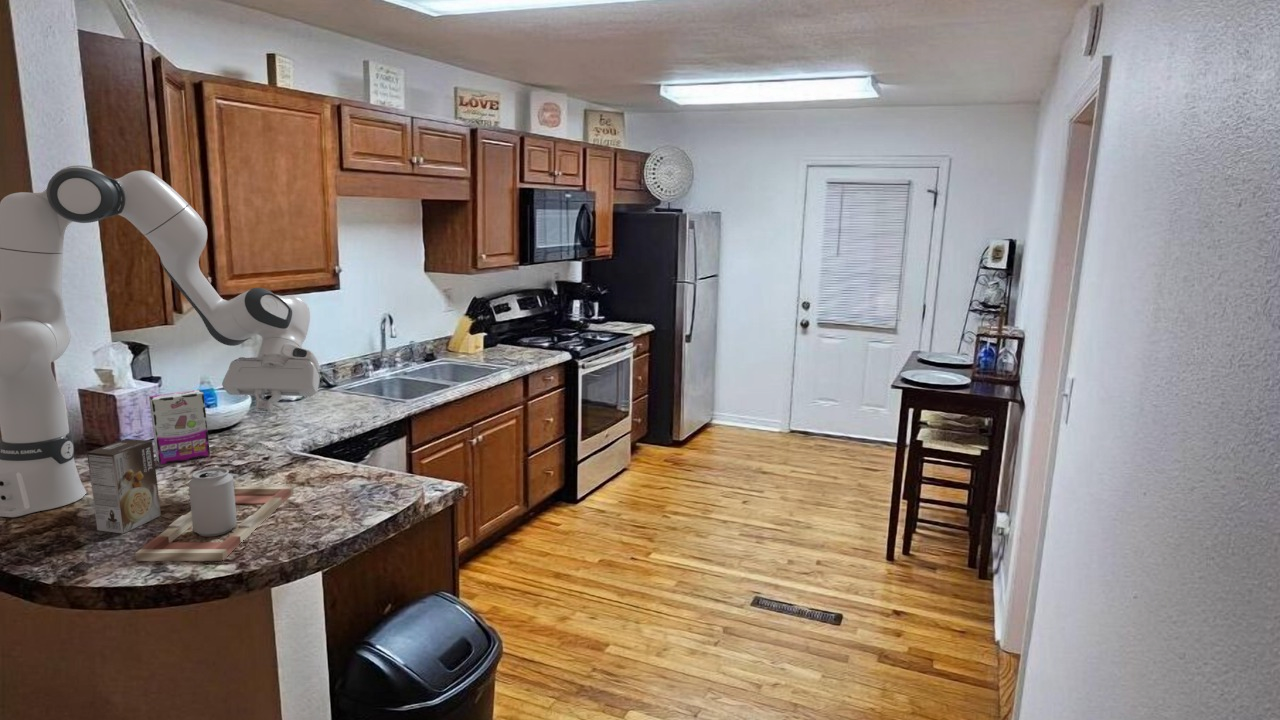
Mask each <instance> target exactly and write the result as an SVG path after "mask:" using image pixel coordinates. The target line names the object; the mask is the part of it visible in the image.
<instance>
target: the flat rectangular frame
mask: <svg viewBox="0 0 1280 720" xmlns="http://www.w3.org/2000/svg"><path fill="white" fill-rule="evenodd" d="M294 494H295V492H294V486H235V485H234V495H235V505H262V506H261V507H260V508H259V509H257V511H255V512H254V513H253V514H252V515H249V516H248V517H246V518H245V519H244V520H243V521H242V522H241V523H240V524H238V527H237V529H235V531H233V532H232V533H231V534H230V535H229V536H228V537H227V538H226V539H225V540H223V541H222V542H220V541H217V542H216V541H214V542H211V541H210V542H209V541H207V542H206V541H205V542H204V541H203V542H202V541H201V542H198V541H197V542H192V541H191V542H189V541H185V542H181V541H180V542H173V541H175V540H176V539H177V538H178V537H180V536H181V535H182V534H184V533H185V532H186V531H187V530H188V529H190V528H191V527H193V524H192V514H191V510H190V511H189V512H187V513H185V514H182V515H181V516H179V517H178V518H177V519H175V520H174V521H173V522H172V523H170V524H169V525H168V528H166V529H165V530H164V531H162V532H161V533H160V534H159V535H157V536H156V537H154V538H153V539H152V540H150V541H148V543H147V544H146V545H144V546H143V547H141V548H139V550H137V551H136V552H135V553H134V554H135V555H134V556H135V561H136V562H175V561H176V562H185V561H187V562H195V561H197V562H198V561H199V562H201V561H206V562H207V561H208V562H211V561H213V562H218V561H221V562H222V560H223V561H224V560H226V559H227V558H228V557H229V556H228V555H229V554H230V553H231V552H232V551H233V550H234V549H235V548H236V547H237V548H238V547H239V546H240V545H241V544H242V543H243V542H244V541H246V539H248V538H249V537H250V536H251V533H252V532H253V531H254V530H255V529H256V528H257V527H258V526H259V525H260V524H261V523H262V522H263V521H264V520H265V519H266V518H267V517H268V518H269V517H270V516H271V515H273V514H274V513H275V512H276V509H277V508H278V507H279V506H280V505H281V504H282V503H283V504H284V503H285V502H286V501H287V500H288V499H289V498H290V497H292V495H294ZM283 504H282V505H283ZM282 505H281V506H282ZM281 506H280V507H281ZM280 507H279V508H280ZM279 508H278V509H279ZM278 509H277V510H278ZM270 514H271V515H270ZM269 515H270V516H269ZM268 518H267V519H268ZM267 519H266V520H267ZM266 520H265V521H266ZM265 521H264V522H265ZM264 522H263V523H264ZM263 523H262V524H263ZM262 524H261V525H262ZM261 525H260V526H261ZM260 526H259V527H260ZM259 527H258V528H259ZM258 528H257V529H258ZM257 529H256V530H257ZM256 530H255V531H256ZM255 531H254V532H255ZM254 532H253V533H254ZM253 533H252V534H253ZM243 540H244V541H243ZM241 542H242V543H241ZM240 543H241V544H240ZM239 544H240V545H239ZM237 548H236V549H237ZM236 549H235V550H236ZM235 550H234V551H235ZM234 551H233V552H234ZM233 552H232V553H233ZM232 553H231V554H232ZM231 554H230V555H231ZM227 556H228V557H227Z"/></svg>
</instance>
